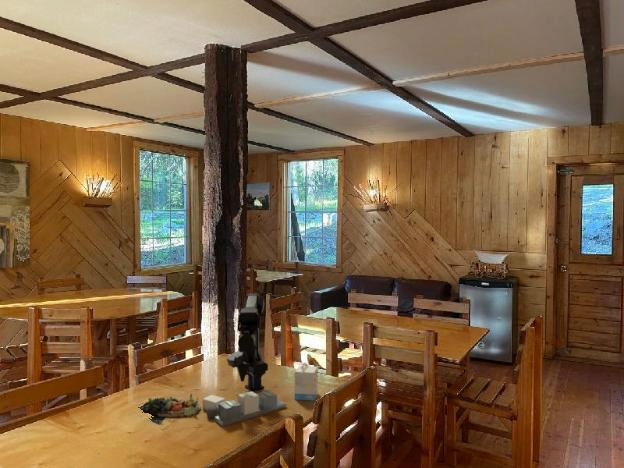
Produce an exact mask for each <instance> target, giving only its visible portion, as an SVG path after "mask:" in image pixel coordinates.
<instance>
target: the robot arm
mask: <svg viewBox="0 0 624 468" xmlns="http://www.w3.org/2000/svg"><path fill="white" fill-rule="evenodd" d="M263 310H265V300H264V298H263V297H261V296H260V294H259V293H247V294H246V297H245V298H243V308H241V309H240V312H239V313H238V317H237V326H236V327H237V329H236V330H237V332H240V336H239V339H238V340H237V345H238V348H237V351H234V352H233V353H231V354H230V355H227V356H226V358H225V359H226V362H227V365H228V367H231V368H233V369H235V368H236V369H237V373H238V376H239V378H240V379H239V380H240V382H244V381H245V379H246V376H247V384H245V385H244V388H246V389H248V390H250V392H251V391H252V392H254V391H256V390H260V389H264V388H265V386H264V385H263V384H262V377H263V376H264V375H266V372H267V371H268V370H269V364H268V363H267V362H265V360H263V355H262V353H261V352H260V328H261V316H262V315H263Z"/></svg>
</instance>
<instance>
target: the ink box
mask: <svg viewBox="0 0 624 468" xmlns="http://www.w3.org/2000/svg"><path fill="white" fill-rule="evenodd" d="M318 369H319V367H318V366H312V365H311V366H309V364H307V362H305V361H304V363H303V364H302V365H299V366H297V368H296V369H295V371H294V400H297V401H312V402H314V401H315V399H316V398H317V396H318V394H319V392H318V391H319V387H318V386H319V385H318V384H319V375H318V374H319V373H318V372H319V370H318Z"/></svg>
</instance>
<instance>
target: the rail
mask: <svg viewBox="0 0 624 468" xmlns="http://www.w3.org/2000/svg"><path fill="white" fill-rule="evenodd" d="M255 393H256V392H255ZM256 394H257V395H259V411H257V412H253V413H250V414H246V415H244V414H243V413H241V405H240V404H239V403H238V401H237V400H236V401H235V400H234V399H231V400H225V402H222V403H219V404H218V416H215V418H214V421H215V422H216V423H217V424H218V425H219V426H220V427H225V426H228V425H231V424H235V423H238V422H242V421H245V420H248V419H252V418H254V417H255V418H256V417H258V416H262V415H265V414H268V413H271V412H275V411H279V410H283V409H285V408H287V402H285V401H283V400H281V399H280V398H278V394H276V393H274V392H273V391H271V390H270V389H269V390H263V391H260V392H257V393H256Z"/></svg>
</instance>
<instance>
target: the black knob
mask: <svg viewBox="0 0 624 468" xmlns="http://www.w3.org/2000/svg"><path fill="white" fill-rule="evenodd" d="M206 412H207V413H206V417H207V419H209V420H210V419H211V420H213V419H214V420H215V416H218V407H209V408H208V409H207V410H206Z"/></svg>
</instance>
